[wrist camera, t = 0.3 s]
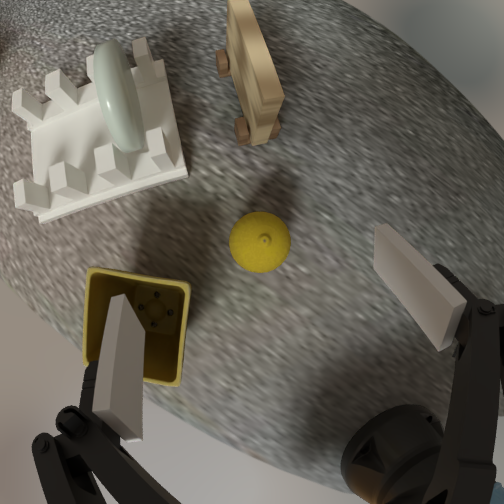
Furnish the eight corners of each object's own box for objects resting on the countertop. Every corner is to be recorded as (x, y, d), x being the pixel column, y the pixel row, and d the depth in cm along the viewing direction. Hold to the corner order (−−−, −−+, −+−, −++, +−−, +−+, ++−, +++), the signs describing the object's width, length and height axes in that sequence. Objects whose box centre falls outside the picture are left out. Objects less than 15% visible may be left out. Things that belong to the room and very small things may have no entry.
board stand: (276, 138, 33) (281, 127, 30) (238, 146, 33) (240, 136, 30) (250, 58, 33) (252, 44, 30) (216, 64, 33) (215, 50, 30)
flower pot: (113, 340, 32) (81, 366, 23) (120, 262, 32) (86, 265, 23) (191, 355, 33) (180, 388, 24) (201, 274, 33) (191, 283, 24)
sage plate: (150, 162, 30) (116, 121, 19) (137, 166, 30) (98, 127, 19) (135, 75, 30) (107, 16, 19) (124, 79, 30) (92, 22, 19)
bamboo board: (266, 142, 33) (284, 96, 22) (252, 145, 33) (264, 99, 22) (239, 54, 33) (245, -7, 22) (226, 57, 32) (227, -5, 21)
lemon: (223, 223, 33) (222, 214, 25) (275, 211, 33) (290, 199, 26) (235, 276, 33) (239, 283, 25) (287, 263, 34) (306, 266, 26)
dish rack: (188, 176, 33) (179, 157, 26) (44, 223, 31) (9, 218, 24) (164, 64, 32) (154, 29, 25) (35, 113, 31) (6, 91, 24)
